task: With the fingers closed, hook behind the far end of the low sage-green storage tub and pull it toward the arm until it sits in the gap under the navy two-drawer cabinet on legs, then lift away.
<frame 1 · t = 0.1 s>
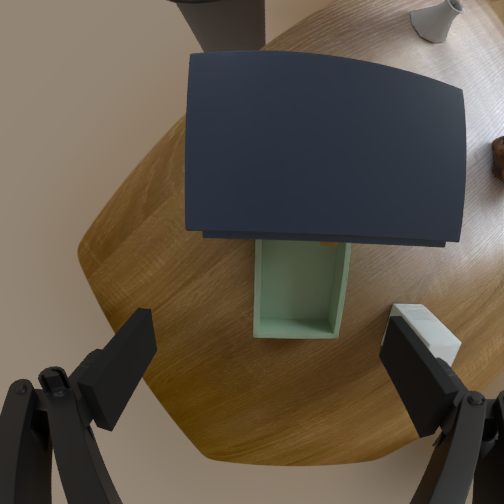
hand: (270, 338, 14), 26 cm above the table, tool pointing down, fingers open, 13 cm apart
small box: (401, 323, 42), on the table
storage tub: (298, 265, 40), on the table
drawer cabinet: (303, 158, 36), on the table
flask: (426, 27, 28), on the table
brown ceramic figurine: (501, 162, 33), on the table
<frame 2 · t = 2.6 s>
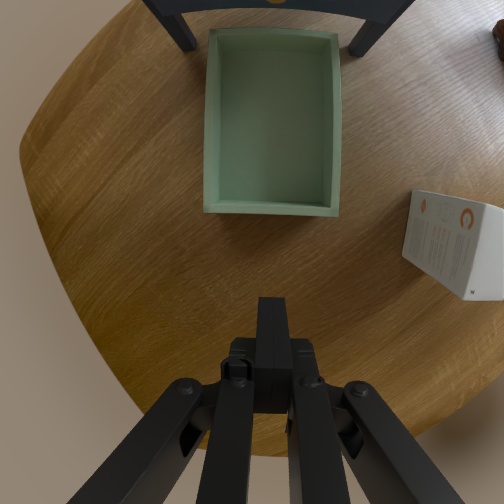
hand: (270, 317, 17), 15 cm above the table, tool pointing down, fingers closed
small box: (426, 225, 29), on the table
storage tub: (272, 122, 27), on the table
drawer cabinet: (273, 7, 23), on the table
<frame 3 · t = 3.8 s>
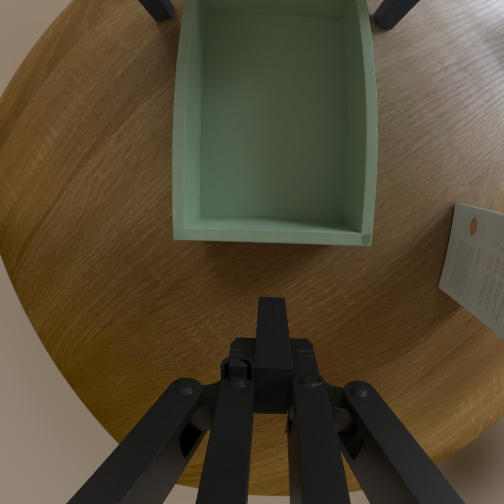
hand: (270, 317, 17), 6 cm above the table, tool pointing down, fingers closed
small box: (468, 248, 21), on the table
storage tub: (274, 107, 19), on the table
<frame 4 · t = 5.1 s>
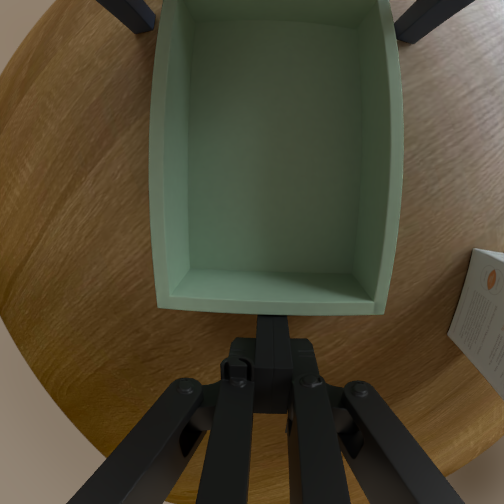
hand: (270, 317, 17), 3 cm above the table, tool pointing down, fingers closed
small box: (481, 292, 19), on the table
storage tub: (275, 138, 16), on the table, touching gripper
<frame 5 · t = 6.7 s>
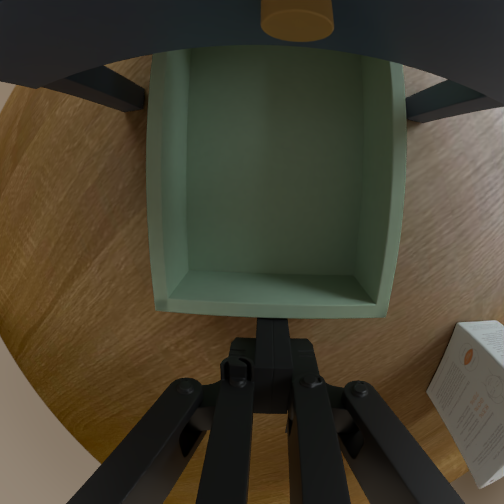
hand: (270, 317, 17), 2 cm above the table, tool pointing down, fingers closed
small box: (462, 355, 20), on the table
storage tub: (276, 137, 16), on the table, touching gripper
drawer cabinet: (276, 23, 14), on the table
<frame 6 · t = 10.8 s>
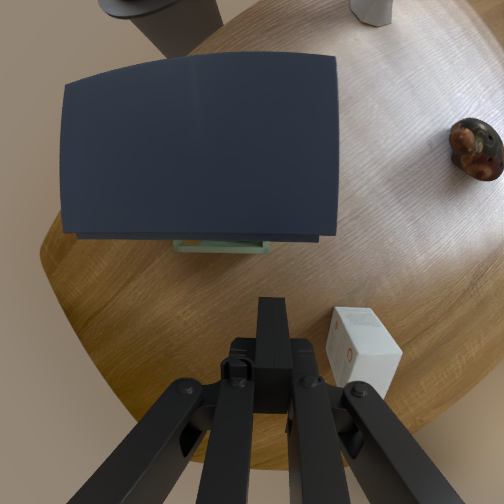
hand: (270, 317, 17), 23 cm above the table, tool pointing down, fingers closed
small box: (347, 328, 42), on the table
storage tub: (225, 178, 37), on the table
drawer cabinet: (225, 159, 37), on the table
flask: (370, 11, 29), on the table
brown ceramic figurine: (464, 150, 34), on the table
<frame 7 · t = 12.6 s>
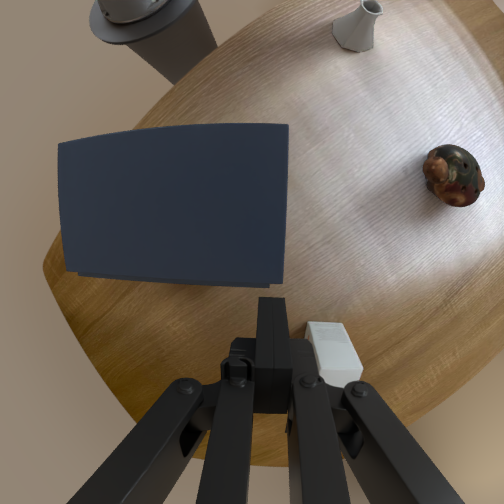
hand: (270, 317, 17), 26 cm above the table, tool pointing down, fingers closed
small box: (321, 340, 47), on the table
drawer cabinet: (207, 188, 41), on the table
flask: (352, 35, 33), on the table
brown ceramic figurine: (441, 174, 38), on the table
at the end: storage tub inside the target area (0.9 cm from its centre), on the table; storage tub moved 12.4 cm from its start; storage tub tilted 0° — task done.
